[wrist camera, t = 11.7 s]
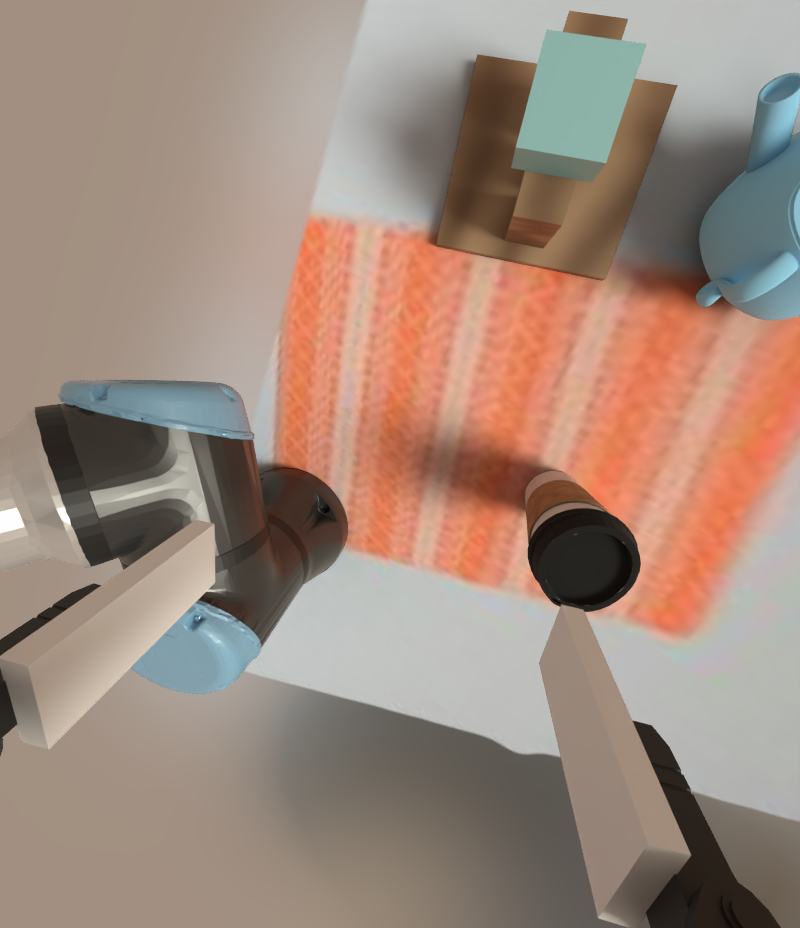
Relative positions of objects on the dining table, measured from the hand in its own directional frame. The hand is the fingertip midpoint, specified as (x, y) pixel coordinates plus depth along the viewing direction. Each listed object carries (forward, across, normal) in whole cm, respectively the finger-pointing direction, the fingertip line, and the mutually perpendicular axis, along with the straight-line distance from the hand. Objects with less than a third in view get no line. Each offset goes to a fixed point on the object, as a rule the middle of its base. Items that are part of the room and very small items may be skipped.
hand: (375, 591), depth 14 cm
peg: (+28, +5, +24) cm, 37 cm away
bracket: (+30, +5, +24) cm, 39 cm away
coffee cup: (+30, +15, -6) cm, 34 cm away
